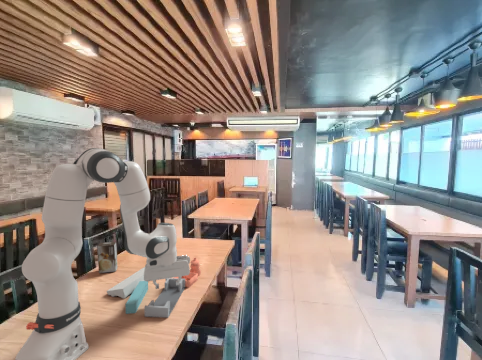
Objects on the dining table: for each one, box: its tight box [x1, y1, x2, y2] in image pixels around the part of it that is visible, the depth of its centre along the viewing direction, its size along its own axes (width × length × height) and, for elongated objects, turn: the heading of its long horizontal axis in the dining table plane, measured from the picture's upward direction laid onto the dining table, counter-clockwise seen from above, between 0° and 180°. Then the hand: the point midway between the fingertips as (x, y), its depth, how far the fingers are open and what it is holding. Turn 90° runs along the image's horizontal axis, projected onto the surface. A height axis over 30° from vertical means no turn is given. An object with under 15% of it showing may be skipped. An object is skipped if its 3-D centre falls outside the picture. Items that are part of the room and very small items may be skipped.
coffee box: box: [96, 241, 119, 274], centre depth 146 cm, size 9×6×16 cm
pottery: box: [173, 257, 202, 289], centre depth 136 cm, size 18×10×10 cm, turn 160°
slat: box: [125, 281, 149, 315], centre depth 115 cm, size 20×4×5 cm, turn 6°
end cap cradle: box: [143, 277, 186, 319], centre depth 115 cm, size 25×10×5 cm, turn 177°
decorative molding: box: [106, 266, 145, 299], centre depth 134 cm, size 34×5×10 cm
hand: (167, 286), depth 115 cm, fingers open, 8 cm apart
